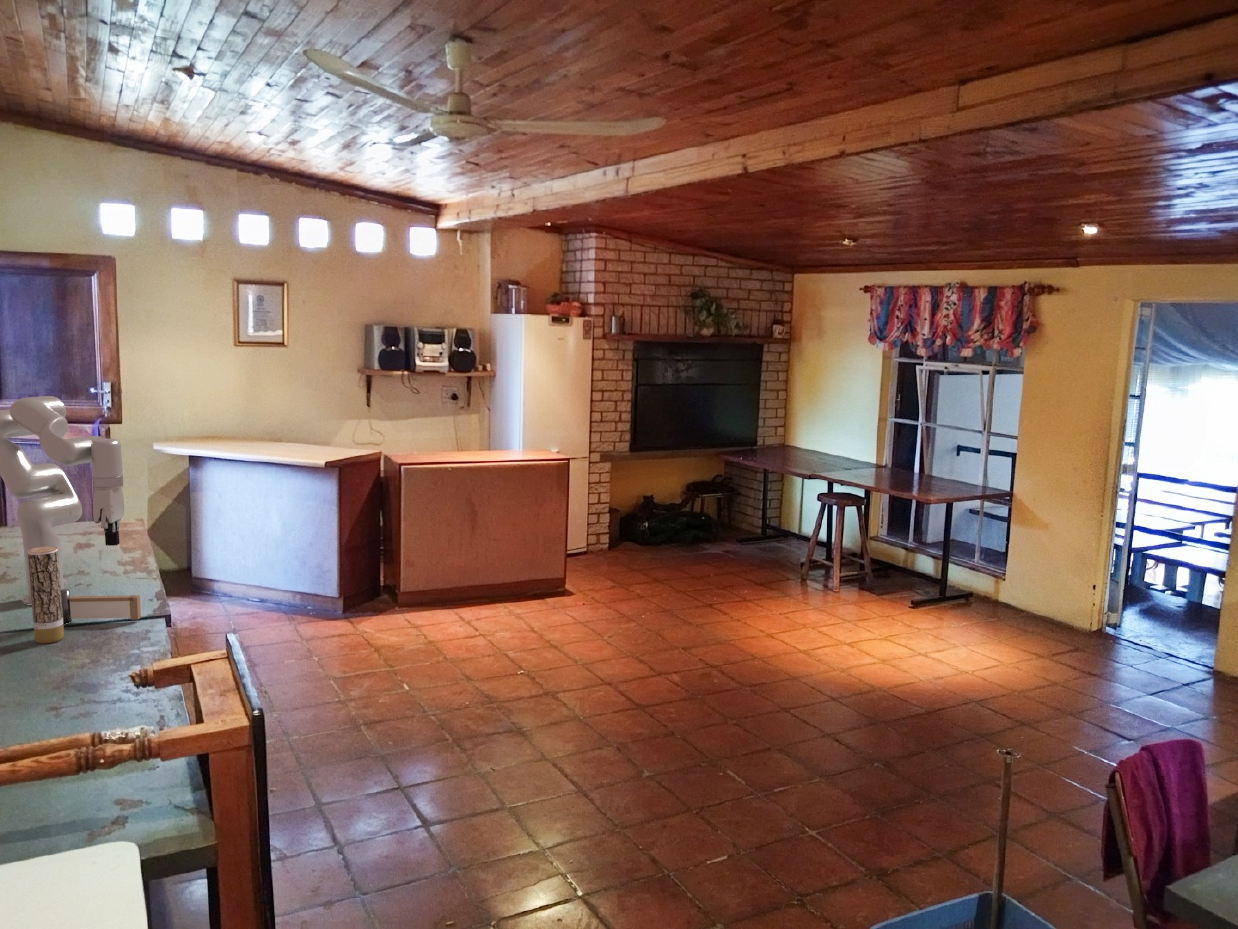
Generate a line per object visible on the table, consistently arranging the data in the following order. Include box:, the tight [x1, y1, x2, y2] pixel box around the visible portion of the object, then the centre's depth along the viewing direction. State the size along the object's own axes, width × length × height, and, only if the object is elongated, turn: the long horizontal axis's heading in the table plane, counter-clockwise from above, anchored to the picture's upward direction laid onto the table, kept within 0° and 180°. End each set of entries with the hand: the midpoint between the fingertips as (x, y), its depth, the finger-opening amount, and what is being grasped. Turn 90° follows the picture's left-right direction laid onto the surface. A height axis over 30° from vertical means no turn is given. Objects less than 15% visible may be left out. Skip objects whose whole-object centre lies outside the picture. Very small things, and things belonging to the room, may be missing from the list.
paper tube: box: [28, 546, 65, 644], centre depth 247 cm, size 7×7×25 cm
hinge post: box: [61, 588, 73, 625], centre depth 262 cm, size 3×3×10 cm
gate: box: [69, 594, 142, 621], centre depth 263 cm, size 2×18×6 cm, turn 97°
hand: (112, 544), depth 268 cm, fingers closed
